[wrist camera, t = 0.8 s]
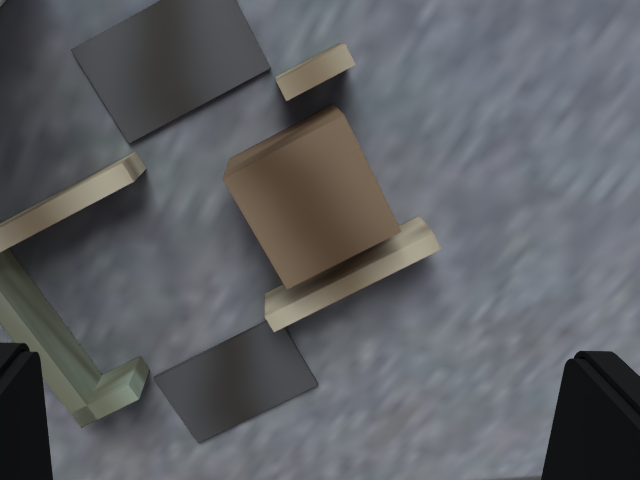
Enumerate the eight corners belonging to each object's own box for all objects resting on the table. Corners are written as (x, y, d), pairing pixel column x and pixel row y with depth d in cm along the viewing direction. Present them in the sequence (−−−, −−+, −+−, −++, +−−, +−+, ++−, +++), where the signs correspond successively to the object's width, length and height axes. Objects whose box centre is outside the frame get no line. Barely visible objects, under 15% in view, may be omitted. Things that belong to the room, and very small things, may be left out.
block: (333, 103, 31) (344, 114, 26) (382, 203, 33) (401, 231, 28) (229, 158, 31) (222, 178, 26) (284, 254, 33) (286, 289, 28)
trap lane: (286, -68, 28) (288, -80, 25) (463, 311, 35) (481, 335, 32) (-94, 141, 30) (-133, 152, 27) (148, 464, 36) (138, 500, 34)
